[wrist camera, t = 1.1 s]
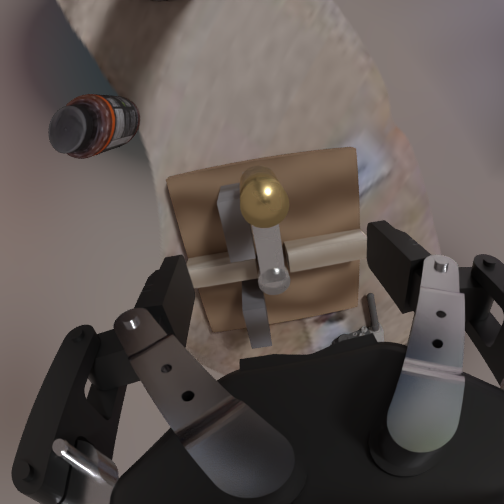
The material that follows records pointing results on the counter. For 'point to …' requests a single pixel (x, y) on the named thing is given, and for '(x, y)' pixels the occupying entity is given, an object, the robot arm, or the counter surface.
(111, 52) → the counter surface
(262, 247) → the swing bar
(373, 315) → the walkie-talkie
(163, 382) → the robot arm
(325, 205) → the lock base
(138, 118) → the supplement bottle
